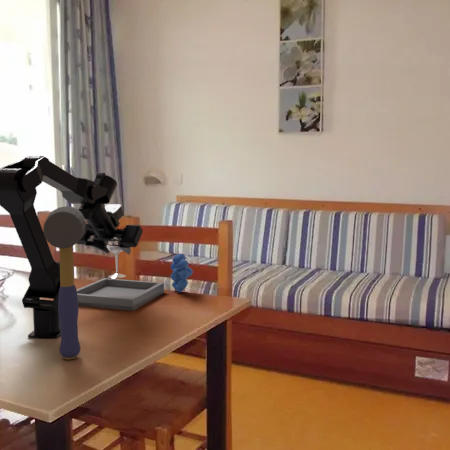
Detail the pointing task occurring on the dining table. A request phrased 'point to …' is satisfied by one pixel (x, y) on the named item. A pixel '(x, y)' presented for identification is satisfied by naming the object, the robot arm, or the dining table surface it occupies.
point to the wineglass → (114, 248)
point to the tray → (119, 293)
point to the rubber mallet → (66, 272)
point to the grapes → (180, 272)
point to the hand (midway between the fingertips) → (118, 252)
